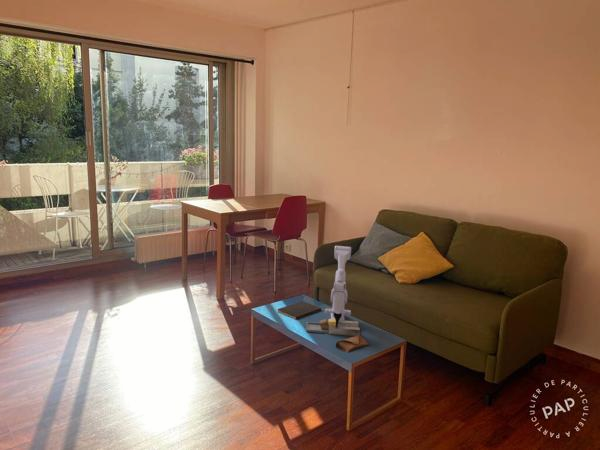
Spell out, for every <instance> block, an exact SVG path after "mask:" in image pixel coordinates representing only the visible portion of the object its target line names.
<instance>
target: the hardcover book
mask: <svg viewBox="0 0 600 450" xmlns="http://www.w3.org/2000/svg"><path fill="white" fill-rule="evenodd" d="M276 310H277V312H278V313H279V314H282V315H284V316H287V317H289V318H291V319H294V320H295V321H296V320H300V319H301V318H305V317H307V316H310V315H311V316H312V315H313V314H315V313H316V314H317V313H319V312H322V308H321V307H319V306H318V305H317V306H316V305H314V304H311V303H310V302H309V303H308V302H307V301H306V302H305V301H303V300H302V301H298V302H295V303H292V304H290V305H286V306H283V307H280V308H277V309H276Z"/></svg>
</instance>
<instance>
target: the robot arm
mask: <svg viewBox="0 0 600 450" xmlns="http://www.w3.org/2000/svg"><path fill="white" fill-rule="evenodd" d="M333 254H334V256H333V257H334V259H335V260H337V270H336V271H335V275H334V278H335V279H334V281H333V282H334V283H333V288H332V289H331V292H330V303H332V305H331V308H325V309H324V314H330V319H335V320H336V326H338V322H339V320H344V321H346V320H345V315H349V316H351V315H352V312H351V310H350V309H345V306H346V304H347V303H348V290H347V289H346V285H347V283H346V276H347V273H346V263H347V261H350V259H351V256H352V247H351V246H343V245H335V246H334V252H333Z"/></svg>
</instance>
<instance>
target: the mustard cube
mask: <svg viewBox="0 0 600 450" xmlns="http://www.w3.org/2000/svg"><path fill="white" fill-rule="evenodd" d="M327 322H328V326H336V320H335V319H331V318H328V320H327Z"/></svg>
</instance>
